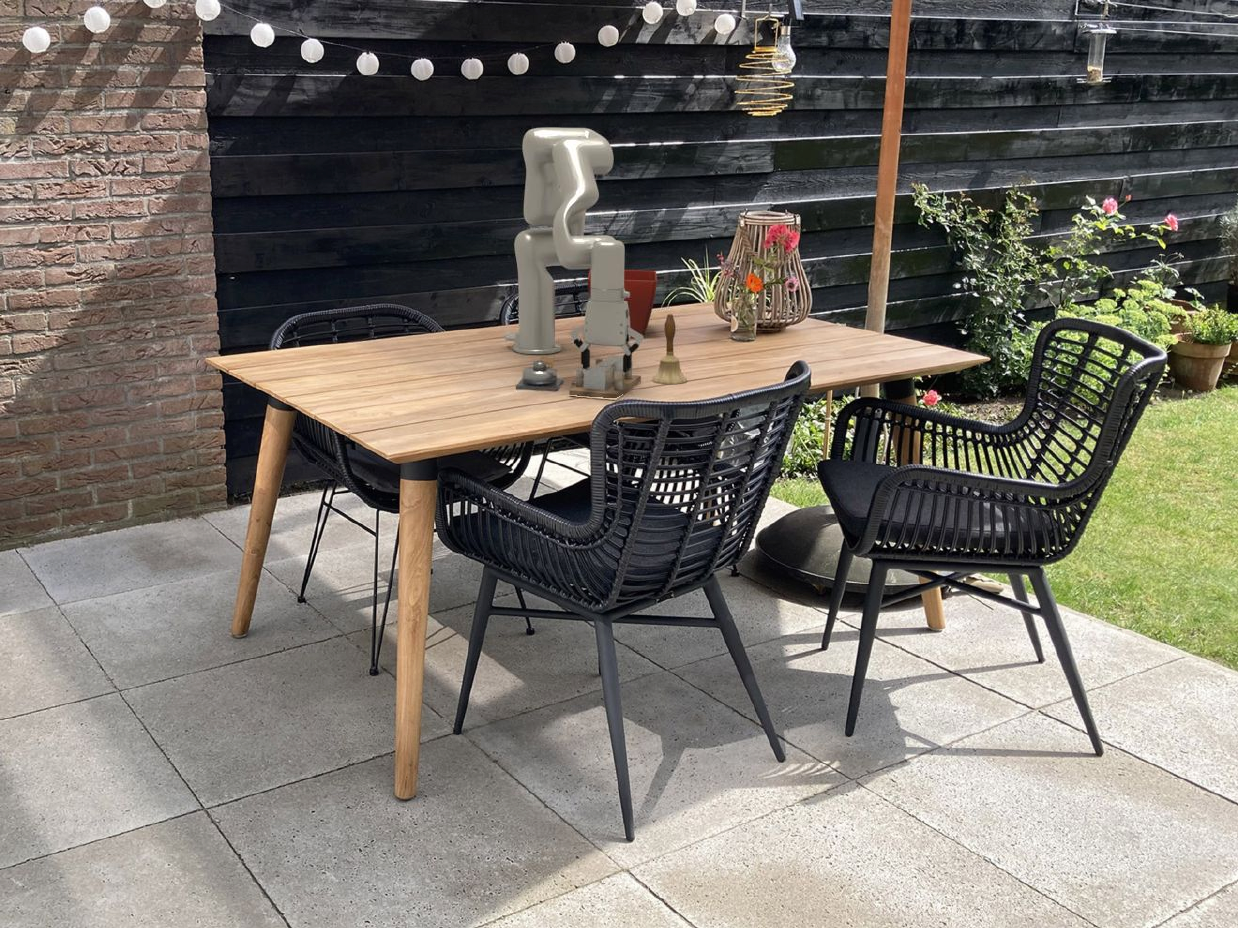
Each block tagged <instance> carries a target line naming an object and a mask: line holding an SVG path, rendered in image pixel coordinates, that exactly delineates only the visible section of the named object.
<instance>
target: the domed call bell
mask: <svg viewBox="0 0 1238 928" xmlns="http://www.w3.org/2000/svg"><path fill="white" fill-rule="evenodd" d="M554 360H555V359H554V357H551V356H550V357H547V356H545V357H544V356H543V357H542V356H541V357H540V358H539V359H538V360H536V361H535V360H534V361H532V366H528V367H524V368H523V369H522V378H523V382H525V383H530V384H550V383H555V382H556V381H557V378H558V368H555V367H554V366H555V365H554Z"/></svg>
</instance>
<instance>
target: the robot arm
mask: <svg viewBox="0 0 1238 928" xmlns="http://www.w3.org/2000/svg"><path fill="white" fill-rule="evenodd" d="M522 154H523V158H524V162H525V163H524V164H525V169H526V170H525V171H526V174H525V175H526V176H525V186H524V188H525V189H524V200H523V217H524V220H525V222H526V223H528V224H529V225H531V226H534V227H552V228H531V229H530V228H529V229H526V230H522V231H520V232H518V234H517V235H516V237H515V239H514V254H515V259H516V265H517V277H518V278H517V279H518V280H517V281H518V287H517V288H518V331H517V332H515V333H513V332H505V333H504V340H505V341H506V342H513V343H515V344H513V346H512V350H513V351H514V352H515V353H518V354H525V355H551V354H556V353H559V352H561V350H562V346H561V344H559V343H557V342H556V284H555V280H554V279H553V277H552V275H551V274H550V273H549V272H548V270H547V268H546V267H552V266H553V267H554V266H555V267H556V266H558V267H559V266H561V267H563V268H565V269H567V270H591V300H590V299H589V300H588V301H587V304H586V309H585V316H584V322H583V323H584V324H583V325H581V326H579V327H577V328H575V329H572V330H571V331H570V332H569V334H570V336H571V339H572V340H573V344H574V345H575V346H576V347H577V348H578V350H579V352H580V364H581V365H582V368H583V369H584V370H585V369H586V368H588V367H590V366H591V350H590V349H589V347H590V346H591V345H593V346H594V345H595V346H603V347H604V346H605V347H620V349H621V350H622V351H623V352H624V355H622V356H623V372H624V373H625V372H627V371H629V369H630V368H631V366H632V367H633V363H632V362H633V360H632V359H633V358H632V357H633V355H632V354H633V353H634V352H635V351H637V350H638V348H640V346H641V343H642V342H643V340H644V338H645V335H644V336H643V335H641V334H640V333H638V332H636V331H635V330H633V329H631V328H630V317H629V309H628V303H627V301H624V299H625V298H626V297H627V298H629V297H630V292H627V291H625V288H624V270H625V254H626V253H625V251H626V249H625V244H624V243H623V242H622V241H621V240H616V239H615V238H614V237H613V236H610V235H601V234H600V235H585V234H584V232H585V224H586V213H587V212H586V211H587V209H590V208H591V207H593V206H594V205H595V204H596V203H597V201H598V200H599V196H600V193H599V189H598V185H597V181H596V178H595V175H606V174H608V173H609V172H610V171H611V170H612V169H613V166H614V153H613V148H612V147H611V145H610V143H609V141H608V140H607V139H606V137H604V136H602V135H601V134H599V133H598V132H596V131H595V130H592V129H590V128H587V127H536V128H531V129H529V130H528V131H527V132H526V133H525V135H523V139H522ZM581 333H583V341H584V342H583V341H582V339H581V338H580V336H579V334H581ZM630 336H632V337H633V339H635V341H634V342H633V344H632V345H631V343H629V342H630V341H631V338H630Z"/></svg>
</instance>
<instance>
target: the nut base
mask: <svg viewBox="0 0 1238 928" xmlns="http://www.w3.org/2000/svg"><path fill="white" fill-rule="evenodd" d="M563 383H564V378H560V377H559V378H558V377H557V381H556V382H555V383H550V384H530V383H525V382H523V377H522V378H521V379H520V380H519V381H518V383H517V384H516V385H515V390H526V391H527V390H528V391H529V390H530V391H547V392H557V391H558V390H559V389H560V387H561V386H562V384H563ZM560 385H561V386H560Z"/></svg>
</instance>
